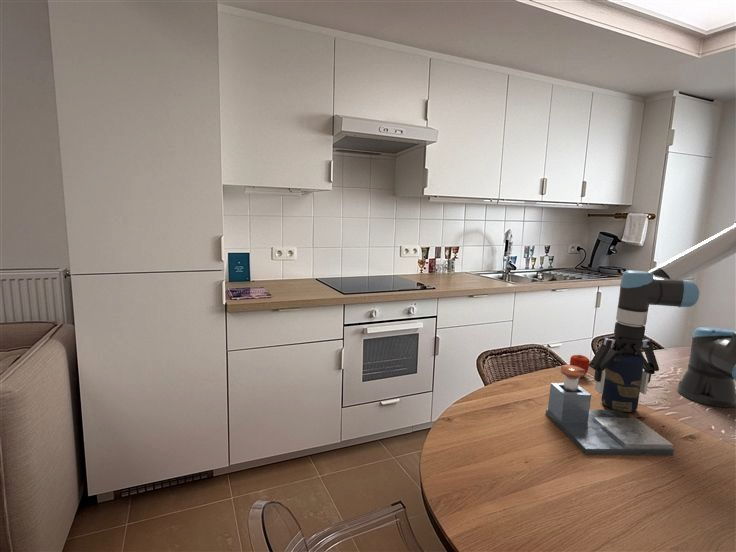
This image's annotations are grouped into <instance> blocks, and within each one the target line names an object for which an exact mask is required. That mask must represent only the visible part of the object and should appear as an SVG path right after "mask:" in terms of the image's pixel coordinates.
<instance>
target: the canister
mask: <svg viewBox="0 0 736 552" xmlns="http://www.w3.org/2000/svg"><path fill="white" fill-rule="evenodd" d="M609 351H610V350H609ZM609 351H608V352H609ZM616 351H617V350H616ZM644 358H645V357H644ZM644 358H643V357H642V356H639V355H637V354H633V355H629V354H627V355H623V354H621V355H615V356H614V357H613V362H612V363H611V364H610V365H609V366H608V367H607V368H606V369H605V370H604V372H605V381H604V388H603V393H601V398H600V399H601V402H602V403H603V405H604V406H606V407H608V408H610V409H611V410H621V411H622V412H624V413H632V412H635V411H636V410H637V409H638V406H639V399H640V394H641V392H640V386H641V383H642V373H643V371H644V369H643V365H644Z"/></svg>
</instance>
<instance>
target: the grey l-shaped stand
mask: <svg viewBox="0 0 736 552" xmlns="http://www.w3.org/2000/svg"><path fill="white" fill-rule="evenodd" d="M563 385H564V382H560V383H559V382H550V388H549V395H548V396H549V397H548V405H547V408H546V410H545V415H546V416H547V417H548V418H549V419H550V420H551V422H553V423H554V424H555V425H556V426H557V427H558V428H559V429H560V430H561V431H562V432H563V433H564V434H565V436H567V437H568V438H569V439H570V441H572V443H573V444H574V445H576V446H577V448H579V450H580V451H581V452H582V453H583V454H584V455H590V456H591V455H596V456H597V455H604V456H605V455H609V456H610V455H611V456H613V455H614V456H618V455H619V456H624V455H625V456H674V452H675V449H674V448H673V447H674V444H673V443H672V442H670V441H669V440H667V438H665V437H664V436H662V435H660V434H659V433H658V432H657V431H655V430H654V429H652V428H651V427H649V426H648V425H646V424H645V423H644V422H643V421H641V420H640V419H638V417H637V418H636V417H630V415H627V413H626V412H622V411H621V410H614V409H591V408H590V406H591V400H592V394H591V393H589V392H588V391H587V390H585V389H584V388H583V387H581V386H580V385H578V392H566V391H565V390H563Z"/></svg>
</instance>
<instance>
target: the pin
mask: <svg viewBox="0 0 736 552" xmlns="http://www.w3.org/2000/svg"><path fill="white" fill-rule="evenodd" d="M560 373H561V374H562V375H564V379H563V383H564V385H563V390H565V391H566V392H578V385H579V384H580V383H579V382H580V378H584V377H585V376H586V375H585V370H584V369H582V368H580V367H577V366H572V365H570V364H562V365H561V366H560ZM579 386H580V385H579Z"/></svg>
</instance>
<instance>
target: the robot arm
mask: <svg viewBox="0 0 736 552" xmlns="http://www.w3.org/2000/svg"><path fill="white" fill-rule="evenodd" d="M735 254H736V219H734V220H733V221H732V223H731V225H730V226H729V227H727V228H725V229H723V230H722V231H719V232H718V233H716V234H714V235H712V236H710V237H708V238H707V239H705V240H704V241H701V242H700V243H698V244H696V245H694V246H692V247H690V248H688V249H686V250H684V251H682V252H681V253H679V254H676V255H675V256H673V257H671V258H670V259H668V260H666V261H664V262H662V263H660V264H659V265H657V266H654V267H653V268H651V269H649V270H647V271H644V270H635V269H634V270H633V269H632V270H631V269H628V270H625V271H624V272H623V273H622V276H621V280H620V283H619V293H618V295H619V296H618V302H617V303H618V305H617V308H616V309H617V310H616V316H615V317H616V318H615V320H616V321H615V324H614V330H613V334H614V337H613V338H612V339H611V338H607V337H603V338H602V342H601V345H600V346H599V348H598V349H597V351H596V353H595V354H594V356H593V358H592V359H591V361H589V367H590V368H591V369H593V370H594V377H593V378H594V379H593V380H594V381H595V386H594V390H595V392H598V393H599V394H602V393H603V388H604V381H605V369H606V368H607V367H608V366H609V365H610V364H611V363H612V362H613V357H614V356H615V355H621V354H623V355H627V354H629V355H633V354H637V355H639V356H642V357H643V358H644V365H643V373H642V383H641V386H640V394H643V395H647V391H648V384H649V383H650V382H651V378H652V375H654V374H655V373H656V372H659V371H660V368H659V364H658V361H657V358H656V355H655V351H654V347H653V345H654V342H653V341H652V340H650V339H648V338H644V337H645V333H646V325H647V319H648V314H649V307H650V305H651V306H663V307H664V306H665V307H666V306H667V307H668V306H669V307H678V308H691V307H692V306H693V307H694V306H695V305H696V304H697V302H698V301H699V297H700V290H699V287H698V285H697V284H696V283H695V282H694V281H691V280H687V279H689V278H691V277H693V276H695V275H697V274H698V273H700V272H702V271H704V270H707V269H708V268H710V267H712V266H713V265H716V264H717V263H718V264H719V263H720V262H722V261H723V260H725V259H727V258H729V257H731V256H733V255H735ZM691 339H692V340H691V347H690V353H689V357H688V359H689V360H688V365H687V370H686V371H685V373H684V375H683V376H682V379H681V380H680V381H679V382H678V385H677V392H678V393H679V394H680V395H681V396H682V397H685V398H687V399H689V400H691V401H694V402H697V403H700V404H704V405H709V406H711V407H712V406H713V407H717V408H718V407H719V408H734V407H736V385H735V382H736V330H734V329H729V328H728V329H727V328H719V327H708V326H701V327H697V328H695V329H694V331H693V335H692V337H691ZM641 348H643V351H644V353H643V352H642V350H641ZM616 350H617V351H616ZM608 351H609V352H608ZM644 354H645V356H644Z"/></svg>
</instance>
